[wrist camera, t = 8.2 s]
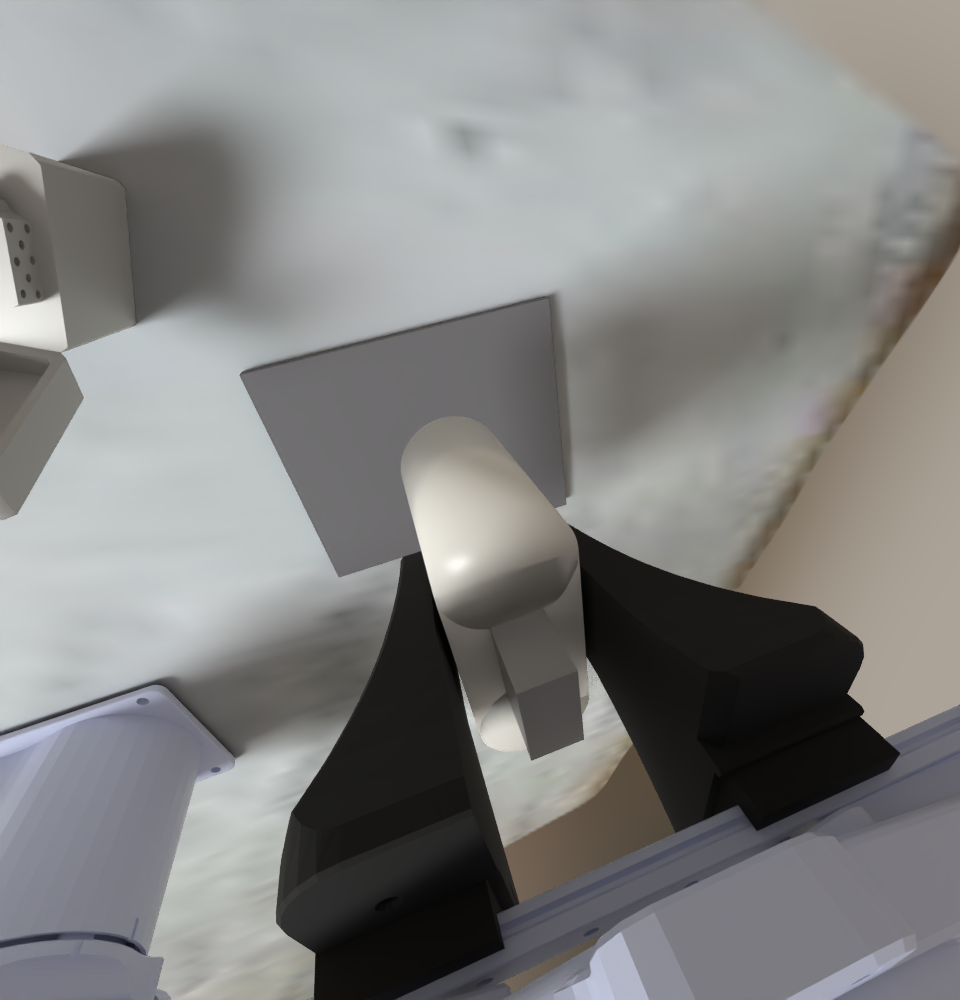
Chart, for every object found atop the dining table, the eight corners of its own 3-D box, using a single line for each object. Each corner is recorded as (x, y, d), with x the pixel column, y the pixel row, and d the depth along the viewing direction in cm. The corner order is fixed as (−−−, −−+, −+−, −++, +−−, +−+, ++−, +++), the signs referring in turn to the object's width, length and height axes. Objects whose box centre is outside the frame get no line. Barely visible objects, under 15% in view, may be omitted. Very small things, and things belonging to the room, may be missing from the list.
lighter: (48, 159, 12) (-322, 44, 5) (124, 182, 13) (-120, 105, 6) (83, 404, 15) (-125, 528, 8) (143, 413, 16) (-5, 535, 9)
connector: (451, 629, 16) (509, 831, 10) (387, 433, 11) (429, 601, 6) (526, 603, 16) (622, 784, 11) (492, 403, 12) (623, 536, 6)
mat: (339, 570, 21) (338, 577, 21) (241, 371, 16) (239, 375, 15) (562, 499, 23) (566, 504, 22) (544, 297, 17) (549, 298, 17)
